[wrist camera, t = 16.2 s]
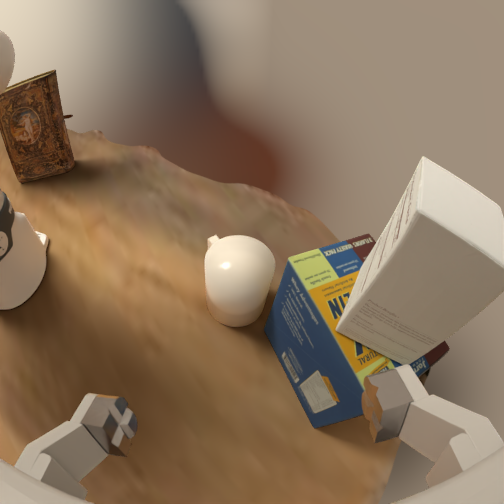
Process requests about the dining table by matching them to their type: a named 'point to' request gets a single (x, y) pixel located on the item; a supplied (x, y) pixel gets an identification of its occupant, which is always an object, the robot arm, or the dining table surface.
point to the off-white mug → (237, 279)
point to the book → (35, 128)
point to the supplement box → (427, 268)
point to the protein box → (327, 333)
